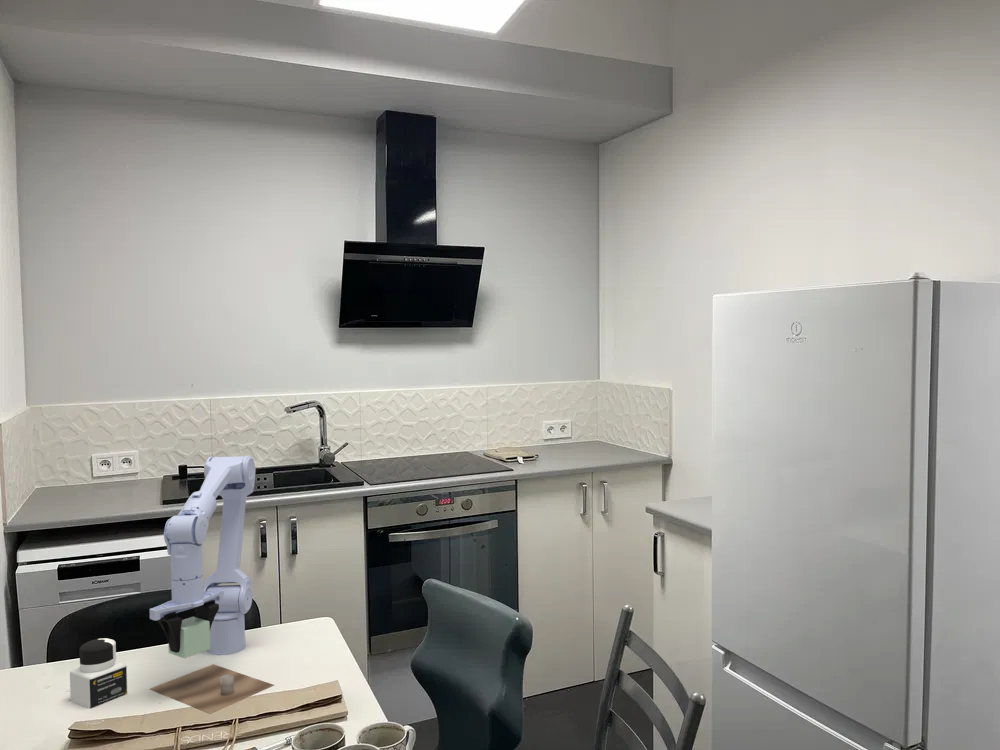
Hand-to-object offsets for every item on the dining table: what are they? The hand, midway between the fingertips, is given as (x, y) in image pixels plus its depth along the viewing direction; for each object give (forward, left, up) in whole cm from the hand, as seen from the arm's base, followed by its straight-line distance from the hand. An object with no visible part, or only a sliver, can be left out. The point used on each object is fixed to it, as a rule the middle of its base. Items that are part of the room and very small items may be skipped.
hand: (189, 646), depth 143 cm
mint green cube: (0, 0, -1) cm, 1 cm away
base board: (+4, +2, -9) cm, 10 cm away
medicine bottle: (-11, -12, -10) cm, 19 cm away
